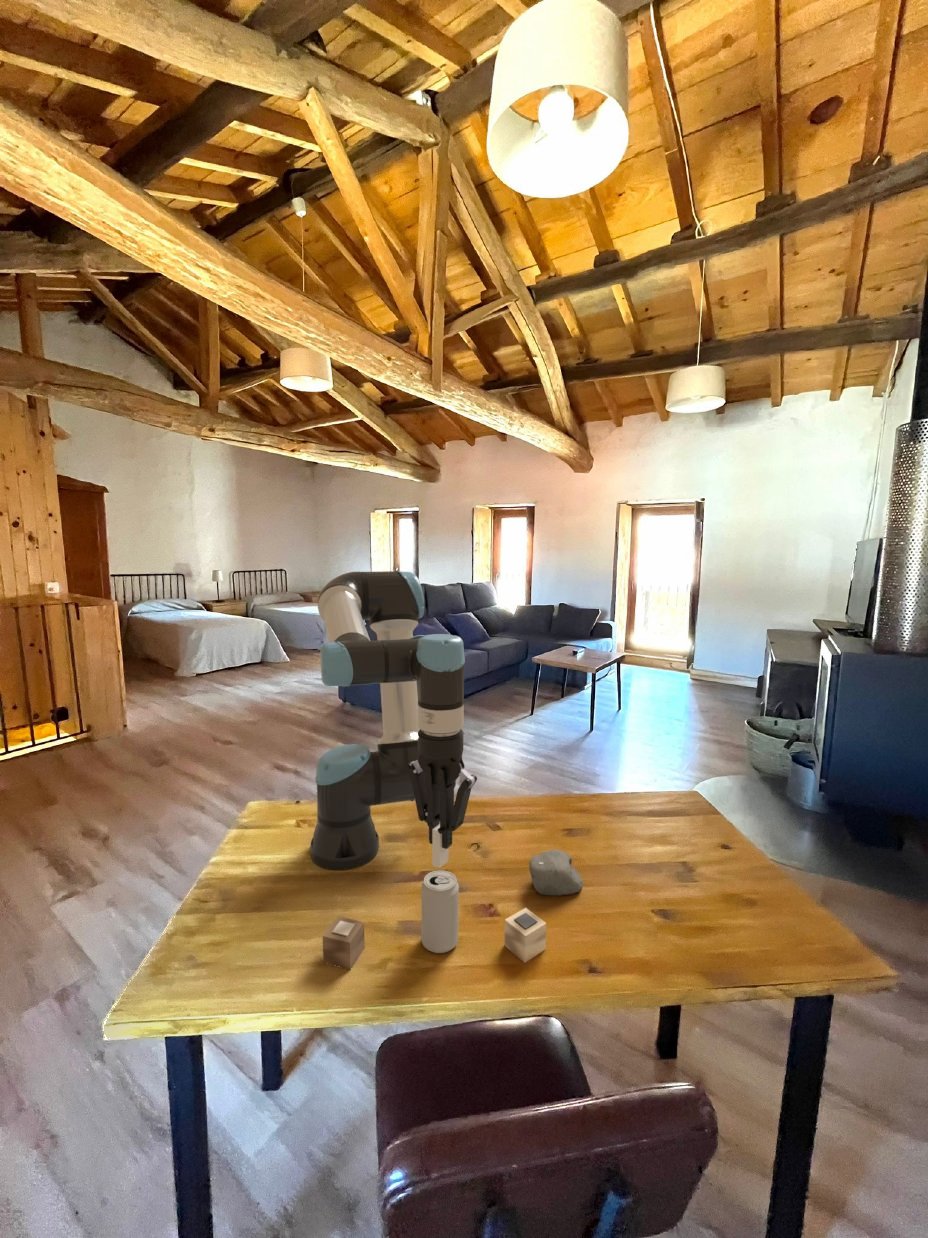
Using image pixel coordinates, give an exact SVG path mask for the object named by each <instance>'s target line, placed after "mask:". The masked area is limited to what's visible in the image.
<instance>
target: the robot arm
mask: <svg viewBox="0 0 928 1238" xmlns="http://www.w3.org/2000/svg"><path fill="white" fill-rule="evenodd" d="M423 591H424V590H423V587H422V584H421V582H420V580H419V578H418V577H417V574H415V573H414V572H411V571H402V570H395V571H393V570H391V571H350V572H346V573H345V572H344V573H343V574H340V575H338V576H336V577H334V578H333V579H331V580H330V581H329V582H327V584H325V586H323V588H322V589H321V591H320V592H319V595H318V598H317V610H318V614H319V617H321V619H322V620H323V622H324V623H325V627H326V628H325V629H326V636H327V640H328V642H327V643H324V644H322V645H321V647H320V652H319V653H320V675H321V681H322V684H323V685H324V686H327V687H343V688H346V687H349V686H363V685H373V684H380V698H381V699H380V701H381V716H382V718H381V719H382V728H383V729H382V731H383V734H382V736H381V738H380V739H379V740H378V741H377V751H371V750H370V748H369V747H368V746H366V745H365V744H361V743H360V744H358V743H351V744H344V745H340V746H337V747H334V748H332V749H330V750H327V751H326V752H325V753H323V754H322V755H320V757H319V758H318V760H317V763H316V769H315V771H316V773H315V778H314V779H315V784H316V805H317V806H316V812H317V822H316V825H315V827H314V831H313V835H312V836H313V837H312V838H311V841H310V846H309V852H310V855H309V856H310V859H311V860H312V862H313V863H314V864H315V865H316V866H318V867H320V868H323V869H325V870H326V869H328V870H333V871H335V870H336V871H340V870H342V871H343V870H350V869H355V868H357V867H360V866H362V865H365V864H367V863H368V862H370V861H371V860H372V859H374V858H375V857H376V856H377V854H378V852H379V851H380V849H379V848H380V839H379V838H380V837H379V835H378V832H377V831H376V828H375V823H374V821H373V818H372V815H371V812H372V811H371V807H372V806H380V805H387V804H393V803H401V802H402V803H403V802H409V801H410V802H414V801H415V806H416V810H417V816H418V819H419V821H421V822H425V823H426V824H427V826H428V842H429V844H431V845H432V846H431V847H432V848H431V849H432V853H431V855H432V857H431V858H432V860H431V861H432V862H431V863H432V866H433V867H435V868H438V869H440V868H442V867H443V866H444V865H445V864H446V863H447V862H449V856H450V855H449V849H450V847H451V846H452V845H453V832H454V831H457V829H459V828H460V827H461V826H462V825H463V824H464V822H465V821H464V819H465V815H466V812H467V808H468V804H469V801H470V796H471V792H472V788H473V787H474V785H475V783H476V782H478V781H477V780H478V777H477V775H475V774H470V773H469V772H468V771H467V770H466V769H465V764H464V763H465V762H464V760H463V752H464V730H463V728H464V726H465V722H464V720H465V719H464V718H465V717H464V716H465V715H464V713H465V712H464V711H465V710H464V708H465V707H464V704H465V703H464V699H465V698H464V697H465V696H464V694H465V693H464V692H465V691H464V690H465V686H464V685H465V663H466V656H465V648H464V640H463V639H462V637H460V636H458V635H453V634H448V633H434V634H433V633H432V634H426V635H424V634H418V635H414V630H415V629H416V628H417V626H419V619H421V618H423V616H424V614H425V597H424V592H423ZM368 620H369V627H370V629H371V630H372V631H373V632H374V633H375V634H376V637H377V640H371V639H370V636H369V633H368V630H367V628H366V625H365V622H364V621H368ZM458 778H459V781H458V783H457V785H458V786H459V787H458V788H457V790H456V791H457V792H456V794H455V788H456V781H457V779H458Z"/></svg>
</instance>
